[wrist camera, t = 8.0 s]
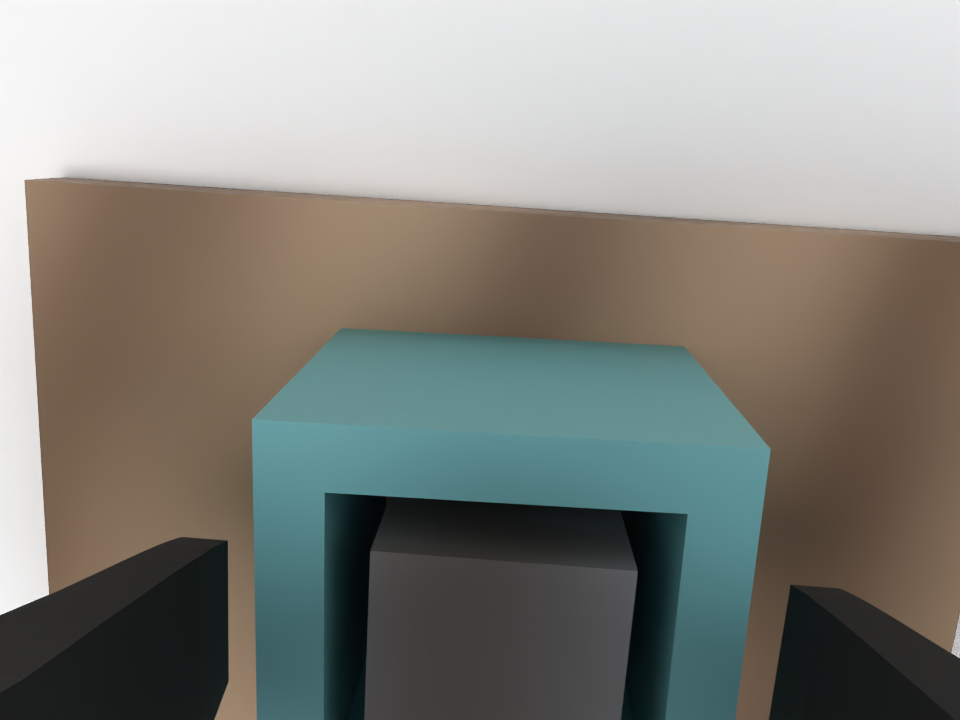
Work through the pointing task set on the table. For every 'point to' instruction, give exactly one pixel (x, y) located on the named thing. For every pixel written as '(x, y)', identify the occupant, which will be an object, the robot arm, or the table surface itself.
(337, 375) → the teal collar
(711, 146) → the table surface
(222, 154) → the table surface
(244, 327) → the post stand
